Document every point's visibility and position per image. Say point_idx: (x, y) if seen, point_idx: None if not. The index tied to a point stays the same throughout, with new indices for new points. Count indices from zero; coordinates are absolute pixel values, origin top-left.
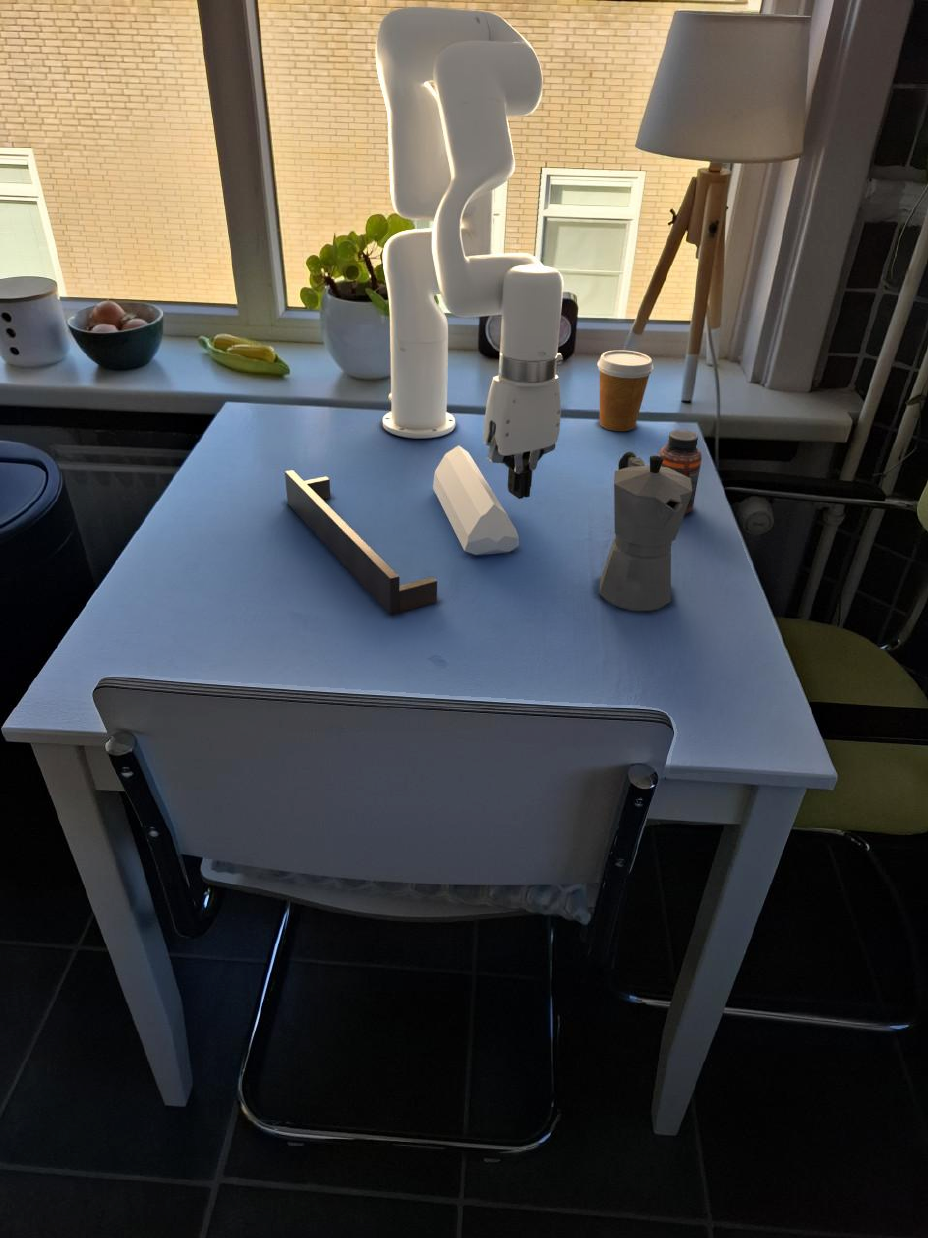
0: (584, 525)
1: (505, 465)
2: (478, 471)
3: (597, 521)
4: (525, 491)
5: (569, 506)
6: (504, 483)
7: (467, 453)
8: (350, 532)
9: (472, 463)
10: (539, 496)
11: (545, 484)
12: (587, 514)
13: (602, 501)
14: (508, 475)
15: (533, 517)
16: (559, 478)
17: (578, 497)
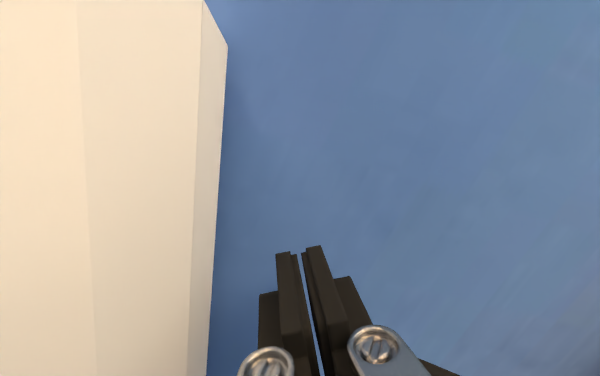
0: None
1: (242, 363)
2: (59, 347)
3: (469, 358)
4: (316, 336)
5: (457, 269)
6: (346, 30)
7: (32, 15)
8: None
9: (23, 260)
10: (412, 182)
11: (486, 95)
12: (471, 321)
13: (560, 263)
14: (258, 337)
15: None
16: (563, 61)
17: (519, 222)
